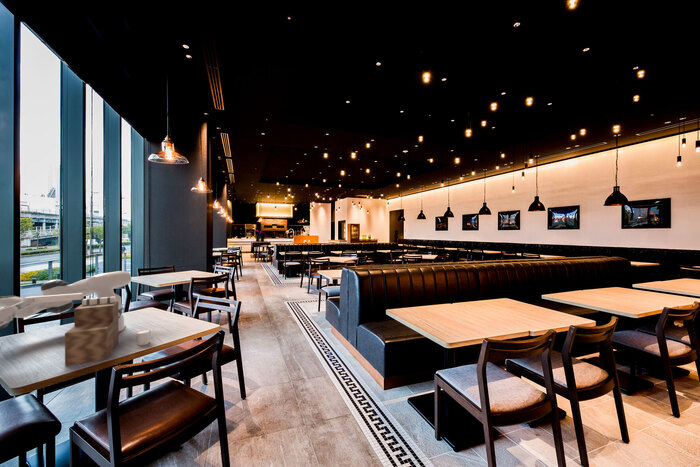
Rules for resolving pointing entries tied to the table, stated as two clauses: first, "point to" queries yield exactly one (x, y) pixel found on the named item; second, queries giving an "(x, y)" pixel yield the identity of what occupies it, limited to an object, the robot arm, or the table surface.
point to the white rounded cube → (143, 337)
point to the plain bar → (55, 298)
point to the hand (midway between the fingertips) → (35, 298)
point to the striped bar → (98, 300)
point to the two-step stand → (92, 333)
